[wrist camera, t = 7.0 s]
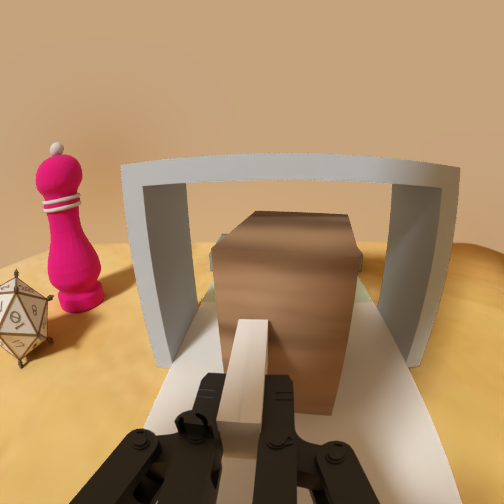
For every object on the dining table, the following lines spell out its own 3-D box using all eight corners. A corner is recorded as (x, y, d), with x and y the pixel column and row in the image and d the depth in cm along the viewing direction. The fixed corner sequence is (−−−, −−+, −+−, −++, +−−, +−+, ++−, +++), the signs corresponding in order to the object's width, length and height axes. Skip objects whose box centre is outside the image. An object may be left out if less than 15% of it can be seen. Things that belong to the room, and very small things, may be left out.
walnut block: (331, 415, 16) (359, 257, 12) (227, 402, 18) (211, 248, 14) (335, 337, 24) (347, 214, 21) (258, 330, 26) (255, 210, 22)
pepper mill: (108, 285, 37) (88, 139, 30) (106, 310, 30) (79, 133, 24) (63, 293, 34) (38, 149, 27) (53, 318, 28) (20, 147, 21)
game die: (42, 367, 24) (37, 283, 27) (75, 369, 21) (67, 265, 24) (-24, 365, 16) (-26, 270, 19) (-10, 370, 13) (-11, 247, 16)
